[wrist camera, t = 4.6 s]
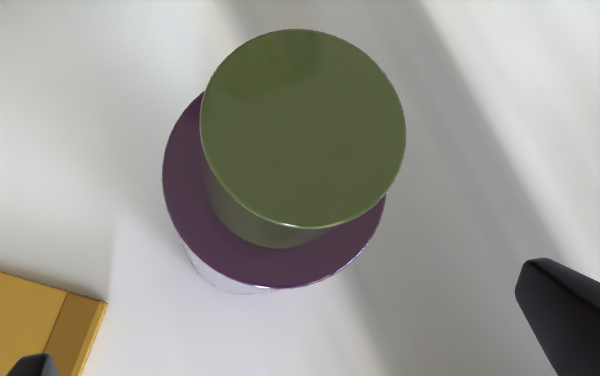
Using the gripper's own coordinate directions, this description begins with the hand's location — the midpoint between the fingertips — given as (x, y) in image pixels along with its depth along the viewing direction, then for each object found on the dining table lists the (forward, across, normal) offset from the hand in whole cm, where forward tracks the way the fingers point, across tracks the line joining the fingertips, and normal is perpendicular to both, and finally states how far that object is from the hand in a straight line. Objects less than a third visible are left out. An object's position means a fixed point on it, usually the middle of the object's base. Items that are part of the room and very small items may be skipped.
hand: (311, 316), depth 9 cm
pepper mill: (+9, 0, +5) cm, 11 cm away
